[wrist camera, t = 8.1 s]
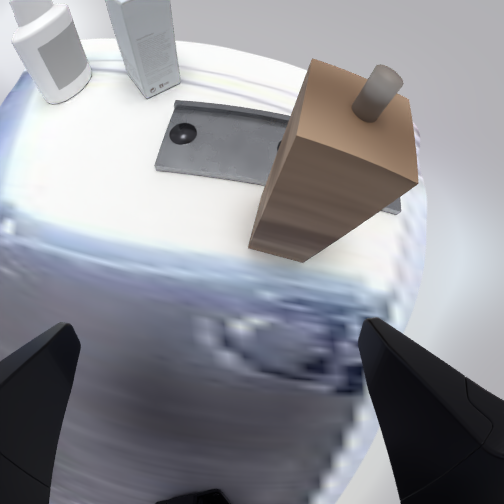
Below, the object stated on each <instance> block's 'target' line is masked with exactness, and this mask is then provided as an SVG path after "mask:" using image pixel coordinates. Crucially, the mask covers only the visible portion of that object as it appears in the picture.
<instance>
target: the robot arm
mask: <svg viewBox="0 0 504 504" xmlns="http://www.w3.org/2000/svg"><path fill="white" fill-rule="evenodd" d="M358 346H359V351H360V355H361V359H362V364H363V368H364V373H365V378H366V382H367V386H368V390H369V394H370V397H371V400H372V403H373V406H374V409H375V412H376V415H377V418H378V422H379V425H380V428H381V431H382V435H383V438H384V441H385V445H386V448H387V452H388V455H389V459H390V463H391V466H392V470H393V474H394V477H395V482H396V486H397V490H398V494H399V498H400V501H401V502H400V503H401V504H504V400H502V399H500V398H498V397H497V396H495V395H493V394H492V393H490V392H488V391H487V390H485V389H484V388H482V387H480V386H479V385H478V384H476V383H475V382H473V381H471V380H470V379H469V378H467V377H465V376H464V375H463V374H461V373H460V372H458V371H457V370H456V369H454V368H453V367H451V366H450V365H448V364H447V363H445V362H444V361H442V360H441V359H439V358H438V357H436V356H435V355H433V354H432V353H431V352H429V351H428V350H426V349H425V348H423V347H422V346H420V345H419V344H417V343H416V342H414V341H413V340H411V339H410V338H408V337H407V336H405V335H404V334H402V333H401V332H399V331H398V330H396V329H395V328H393V327H392V326H390V325H389V324H387V323H386V322H384V321H383V320H381V319H380V318H377V317H375V318H367V319H365V320H364V322H363V325H362V328H361V332H360V336H359V339H358ZM80 349H81V344H80V341H79V339H78V337H77V335H76V333H75V331H74V328H73V326H72V325H71V324H70V323H64V322H60V323H58V324H56V325H55V326H53V327H51V328H50V329H48V330H47V331H45V332H44V333H42V334H41V335H39V336H37V337H36V338H34V339H33V340H31V341H30V342H28V343H27V344H25V345H24V346H22V347H21V348H19V349H18V350H16V351H15V352H13V353H12V354H10V355H9V356H8V357H6V358H5V359H3V360H2V361H0V504H49V497H50V487H51V479H52V472H53V466H54V460H55V455H56V450H57V445H58V440H59V435H60V431H61V427H62V422H63V418H64V414H65V411H66V407H67V403H68V400H69V396H70V393H71V389H72V385H73V380H74V375H75V371H76V366H77V362H78V357H79V353H80ZM214 494H219V495H214ZM156 504H231V503H230V502H229V500H228V499H227V498H226V497H225V495H224V494H223V493H222V492H221V491H220V490H218V489H214V490H210V491H207V492H203V493H199V494H195V495H194V494H193V495H189V496H184V497H180V498H175V499H170V500H168V501H162V502H157V503H156Z"/></svg>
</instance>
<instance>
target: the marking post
mask: <svg viewBox="0 0 504 504" xmlns="http://www.w3.org/2000/svg"><path fill="white" fill-rule="evenodd" d="M402 86H403V80H402V78H401V77H400V76H399V75H398V74H397V73H396V72H395V71H394V70H392V69H391V68H389V67H387V66H385V65H377V66H376V67H375V69H374V70H373V72H372V73H371V75H370V77H369V78H368V79H365V78H363V77H361V76H359V75H356V74H354V73H351V72H349V71H346V70H344V69H341V68H338V67H336V66H333V65H330V64H327V63H324V62H322V61H318V60H315V59H312V60H311V63H310V65H309V68H308V71H307V73H306V76H305V79H304V81H303V84H302V87H301V89H300V92H299V95H298V98H297V100H296V103H295V106H294V108H293V111H292V114H291V116H290V119H289V122H288V125H287V127H286V130H285V133H284V135H283V138H282V141H281V144H280V146H279V149H278V152H277V155H276V157H275V160H274V163H273V166H272V168H271V171H270V174H269V177H268V179H267V182H266V185H265V188H264V191H263V193H262V196H261V200H260V203H259V207H258V211H257V215H256V219H255V223H254V227H253V230H252V234H251V238H250V242H249V246H248V248H250V249H254V250H258V251H261V252H265V253H269V254H272V255H276V256H280V257H284V258H287V259H291V260H295V261H298V262H302V263H303V262H305V261H306V260H308V259H309V258H311V257H313V256H314V255H316V254H317V253H319V252H320V251H322V250H323V249H325V248H326V247H328V246H329V245H331V244H332V243H334V242H335V241H337V240H338V239H340V238H341V237H343V236H344V235H346V234H347V233H349V232H350V231H352V230H353V229H355V228H356V227H358V226H359V225H360V224H362V223H363V222H365V221H366V220H368V219H369V218H371V217H372V216H374V215H375V214H376V213H378V212H379V211H381V210H382V209H384V208H385V207H386V206H388V205H389V204H391V203H392V202H394V201H395V200H396V199H398V198H399V197H401V196H402V195H403V194H405V193H406V192H408V191H409V190H410V189H412V188H413V187H415V186H416V185H417V184H418V169H417V156H416V146H415V137H414V129H413V122H412V116H411V110H410V104H409V99H407V98H405V97H403V96H401V95H399V94H397V92H398V91H399V90H400V88H401V87H402Z"/></svg>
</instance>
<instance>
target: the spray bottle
mask: <svg viewBox="0 0 504 504" xmlns="http://www.w3.org/2000/svg"><path fill="white" fill-rule="evenodd" d="M9 3H10V5H11V7H12V10H13V12H14V14H15V19H16V21H17V23H18V25H19V27H18V28H17V30H16V31H15V33H14V35H13V37H12V40H11V41H12V44H13V46H14V48H15V50H16V51H17V53H18V55H19V57H20V59H21V60H22V62H23V64H24V66H25V67H26V69H27V71H28V73H29V74H30V76H31V78H32V79H33V81H34V83H35V84H36V86H37V88H38V89H39V91H40V92H41V94H42V96H43V97H44V99H45V100H46V102H48V103H51V104H56V103H60V102H63V101H66V100H68V99H69V98H71V97H73V96H74V95H75V94H77V93H78V92H79V91H81V90H82V89H83V88H84V86H85V85H86V84H87V83H88V81H89V80H90V77H91V73H92V72H91V68H90V65H89V63H88V60H87V57H86V55H85V52H84V50H83V47H82V44H81V42H80V39H79V36H78V34H77V31H76V28H75V25H74V22H73V19H72V16H71V13H70V10H69V7H68V5H67V4H62V3H61V4H53V2H52V0H10V2H9Z"/></svg>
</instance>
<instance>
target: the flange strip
mask: <svg viewBox="0 0 504 504" xmlns="http://www.w3.org/2000/svg"><path fill="white" fill-rule="evenodd" d="M174 108H175V109H174V112H173V114H172V117H171V120H170V122H169V125H168V128H167V130H166V133H165V136H164V139H163V141H162V144H161V147H160V150H159V153H158V156H157V159H156V162H155V165H154V166H155V168H156V170H157V171H167V172H176V173H184V174H192V175H200V176H208V177H215V178H222V179H228V180H235V181H241V182H247V183H253V184H259V185H266V182H267V179H268V177H269V174H270V171H271V168H272V166H273V163H274V160H275V157H276V155H277V152H278V149H279V146H280V144H281V141H282V138H283V135H284V133H285V130H286V127H287V125H288V122H289V119H290V116H288V115H283V114H278V113H273V112H268V111H262V110H256V109H250V108H244V107H237V106H230V105H222V104H214V103H204V102H193V101H180V100H176V101H175V103H174ZM381 211H385V212H389V213H392V214H396V215H397V214H398V213H400V212H401V203H400V197H399V198H398V199H396V200H395V201H394V202H392V203H391V204H389V205H388V206H386V207H385V208H384V209H382V210H381Z"/></svg>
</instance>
